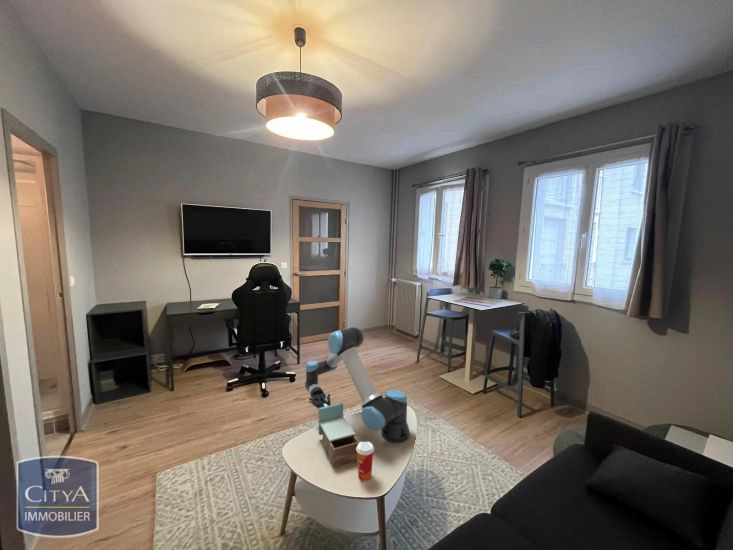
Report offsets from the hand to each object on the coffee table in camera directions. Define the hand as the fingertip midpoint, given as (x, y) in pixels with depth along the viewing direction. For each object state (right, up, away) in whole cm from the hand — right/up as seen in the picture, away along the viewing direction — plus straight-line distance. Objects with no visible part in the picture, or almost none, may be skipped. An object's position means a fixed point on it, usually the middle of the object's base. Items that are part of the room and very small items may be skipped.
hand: (328, 411), depth 162 cm
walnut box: (+8, -13, -16) cm, 22 cm away
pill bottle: (+20, -15, -30) cm, 39 cm away
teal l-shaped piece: (+5, -10, -10) cm, 15 cm away
